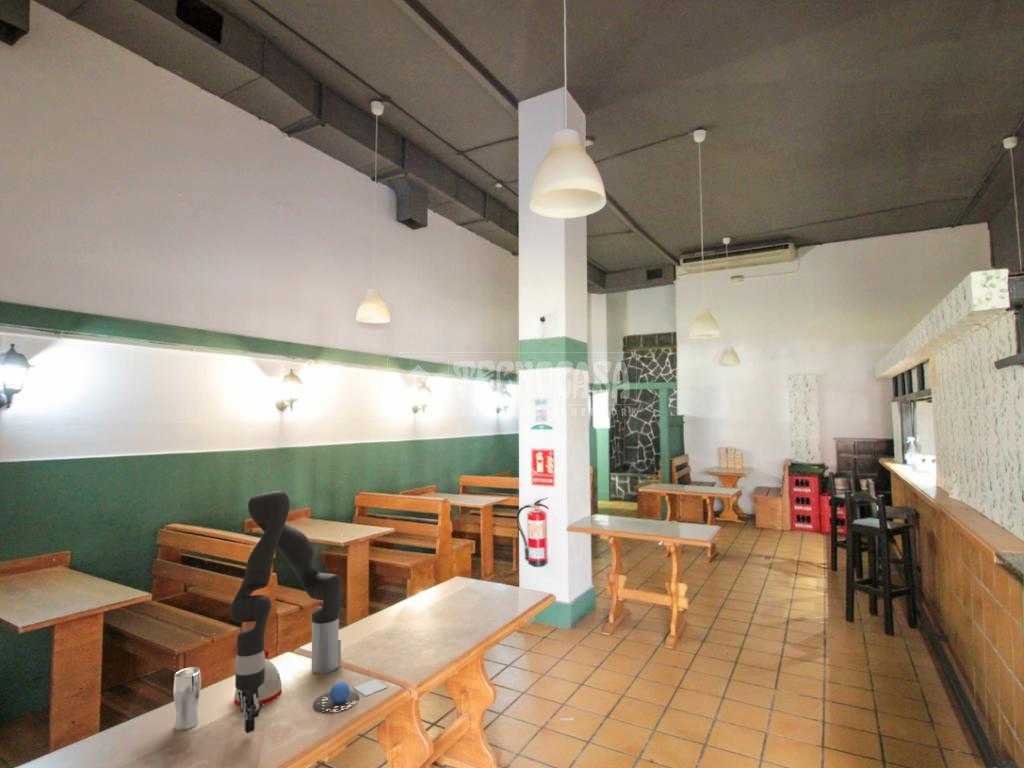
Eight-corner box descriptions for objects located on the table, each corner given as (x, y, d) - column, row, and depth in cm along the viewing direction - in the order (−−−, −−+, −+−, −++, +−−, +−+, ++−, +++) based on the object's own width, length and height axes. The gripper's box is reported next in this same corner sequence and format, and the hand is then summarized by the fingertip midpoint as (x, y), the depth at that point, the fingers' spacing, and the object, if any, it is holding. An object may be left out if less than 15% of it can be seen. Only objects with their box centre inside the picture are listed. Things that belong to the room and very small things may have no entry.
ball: (328, 680, 170) (325, 700, 169) (335, 687, 165) (332, 708, 164) (346, 677, 174) (344, 697, 173) (354, 684, 169) (351, 705, 168)
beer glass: (180, 734, 153) (181, 680, 154) (167, 727, 157) (169, 674, 158) (204, 722, 159) (205, 670, 160) (192, 716, 163) (193, 665, 164)
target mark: (346, 686, 179) (346, 685, 179) (367, 701, 169) (367, 700, 169) (305, 702, 169) (305, 701, 170) (325, 718, 160) (325, 718, 160)
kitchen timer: (224, 704, 169) (225, 655, 170) (256, 683, 183) (257, 638, 184) (260, 710, 165) (260, 660, 166) (290, 688, 178) (291, 642, 180)
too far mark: (375, 679, 183) (375, 679, 183) (387, 687, 178) (387, 687, 178) (353, 688, 178) (353, 687, 178) (365, 696, 172) (365, 695, 172)
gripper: (272, 670, 150) (271, 734, 149) (255, 656, 160) (255, 716, 159) (244, 680, 145) (243, 746, 144) (228, 664, 155) (227, 727, 153)
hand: (249, 731), depth 151 cm, fingers closed
